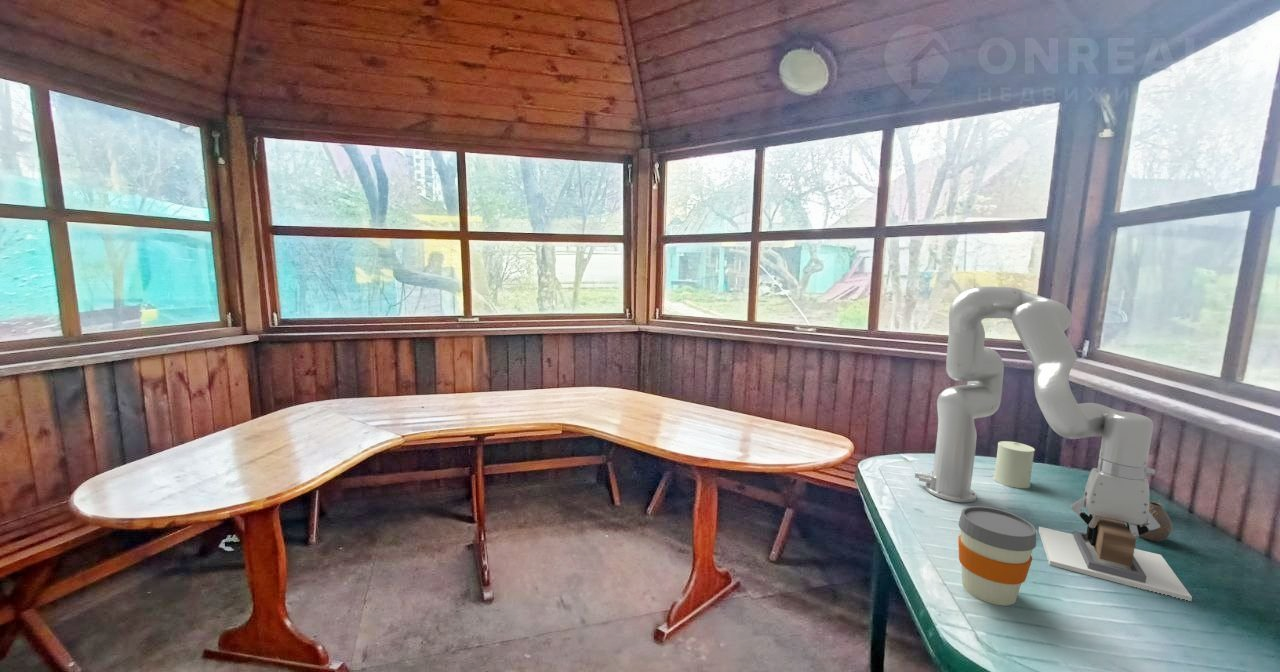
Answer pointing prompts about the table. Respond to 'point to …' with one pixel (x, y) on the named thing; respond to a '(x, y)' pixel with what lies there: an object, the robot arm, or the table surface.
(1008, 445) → the can
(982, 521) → the reusable coffee cup
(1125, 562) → the walnut bar
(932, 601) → the table surface
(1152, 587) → the slot board
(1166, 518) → the vase
